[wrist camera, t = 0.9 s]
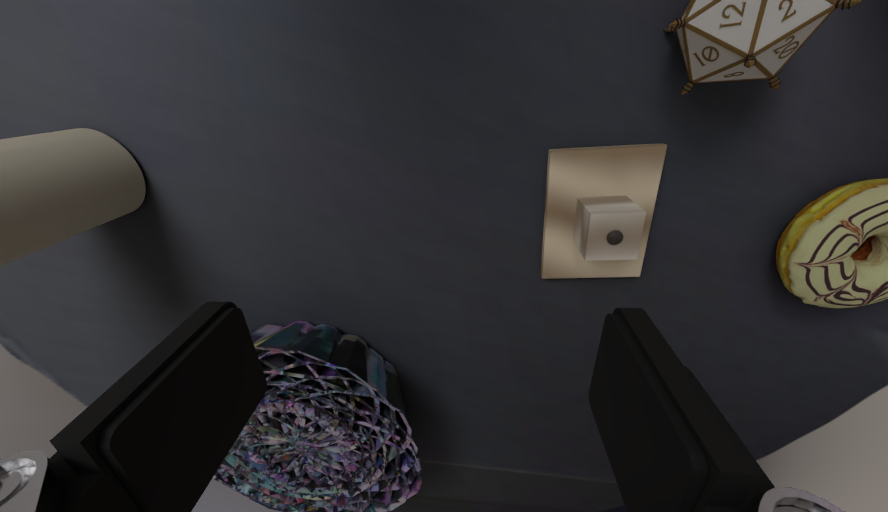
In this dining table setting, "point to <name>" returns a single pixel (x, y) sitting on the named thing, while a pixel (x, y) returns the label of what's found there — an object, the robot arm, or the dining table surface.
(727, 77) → the game die
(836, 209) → the decorated donut
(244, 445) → the decorative bowl
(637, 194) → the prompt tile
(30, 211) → the travel mug
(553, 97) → the dining table surface
